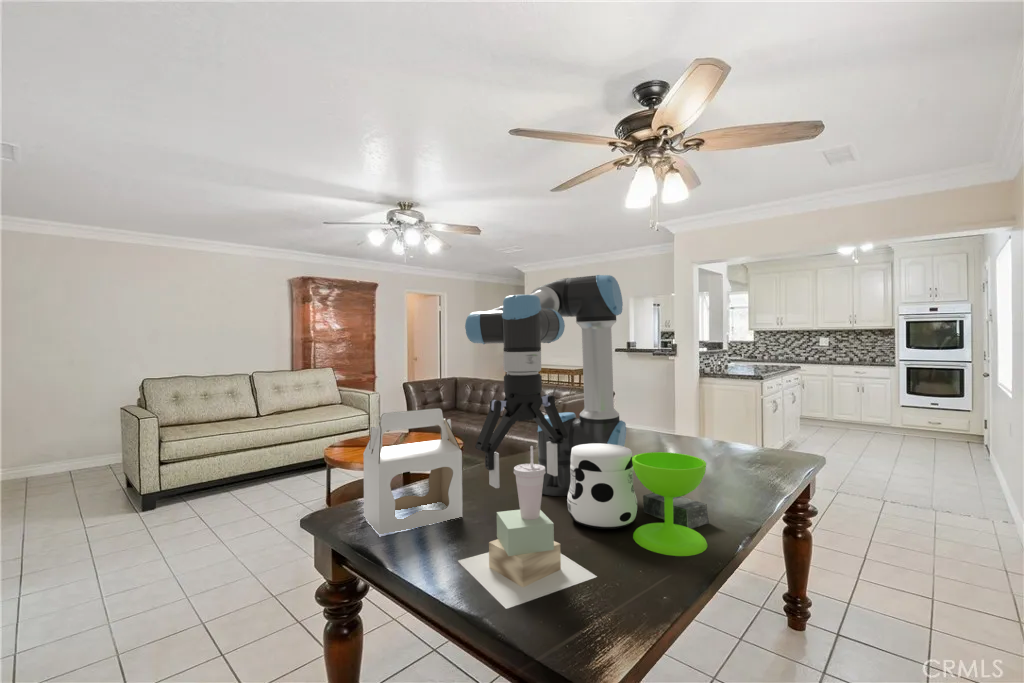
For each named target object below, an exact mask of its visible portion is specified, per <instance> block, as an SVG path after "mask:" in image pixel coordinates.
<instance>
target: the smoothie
mask: <svg viewBox="0 0 1024 683" xmlns="http://www.w3.org/2000/svg"><path fill="white" fill-rule="evenodd" d="M529 453H530V454H529V455H530V463H520V464H517V465H515V466H514V467H513V474H514V475H515V482H516V489H517V495H518V496H517V497H518V504H519V510H520V513H521V517H522V518H523V519H527V520H533V519H537V518H539V516H540V510H541V507H542V506H541V505H542V496H543V494H542V488H543V479H544V474H545V473H546V472H545V467H544V466H542V465H539V464H538V463H534V446H533V445H530V452H529Z"/></svg>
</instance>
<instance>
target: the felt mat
mask: <svg viewBox="0 0 1024 683" xmlns="http://www.w3.org/2000/svg"><path fill="white" fill-rule="evenodd" d="M457 562H458V563H459V564H460V565H461V566H462V567H463V568H464V569H465V570H466V571H467V572H468V573H469V574H470V575H471V576H472V577H473V578H474V579H475V580H476V581H477V582H478V583H479V584H480V585H481V586H482V587H483V588H484V589H485V590H486V591H487V592H488V593H489V594H490V595H491V596H492V597H493V598H494V599H495V600H496V601H497V602H498V603H499V604H500V605H501V606H503V608H504V609H506V610H508V609H510V608H513V607H517V606H520V605H522V604H525V603H527V602H530V601H533V600H536V599H538V598H541V597H544V596H548V595H550V594H553V593H556V592H558V591H562V590H564V589H565V590H566V589H567V588H570V587H572V586H576V585H578V584H581V583H582V584H583V583H584V582H587V581H590V580H593V579H596V578H598V576H597V575H595V574H594V573H593V572H592V571H590V570H588V569H587V568H584V567H583V566H582V565H580V564H578V563H577V562H576V561H574V560H572V559H570V558H569V557H567V556H566V555H564V554H562V553H561V569H560V570H558V571H556V572H554V573H552V574H550V575H548V576H546V577H544V578H542V579H540V580H537V581H535V582H533V583H531V584H529V585H527V586H525V587H521V586H520V585H518V584H516V583H514V582H513V581H511V580H509V579H508V578H506V577H504V576H503V575H501V574H499V573H498V572H496V571H494V570H493V569H491V568H489V551H488V552H485V553H481V554H477V555H474V556H470V557H466V558H463V559H459V560H457Z"/></svg>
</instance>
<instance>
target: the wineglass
mask: <svg viewBox="0 0 1024 683" xmlns="http://www.w3.org/2000/svg"><path fill="white" fill-rule="evenodd" d="M632 456H633V457H632V463H633V472H634V473H635V476H636V478H637V479H638V481H640V483H641V484H642V485H643V486H644V488H646V489H647V490H648V491H650V492H652V493H655V494H658V495H661V496H664V513H665V520H664V522H651V523H646V524H642V525H640V526H639V527H637V528H636V529H635V530H634V531H633V534H632V539H633V541H635V543H636V544H637V545H638V546H640V547H641V548H643V549H646V550H648V551H650V552H652V553H656V554H661V555H665V556H673V557H674V556H675V557H691V556H695V555H699V554H702V553H703V552H705V551H706V550H707V548H708V546H709V545H708V543H707V540H706V538H705V537H704V536H703V535H702V534H701V533H700V532H698V531H696V530H695V529H694V528H693V529H690V528H688V527H685V526H681V525H677V524H673V497H680V496H681V497H684V496H686V495H688V494H690V493H691V492H693V491H695V490H696V489H697V488H698V487H699V485H701V483H702V481H703V478H704V476H705V474H706V468H707V462H706V461H705V460H704V459H702V458H699V457H697V456H693V455H690V454H683V453H677V452H666V451H664V452H663V451H658V452H657V451H655V452H654V451H652V452H650V451H649V452H643V453H638V454H635V455H632Z"/></svg>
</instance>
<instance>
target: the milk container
mask: <svg viewBox="0 0 1024 683" xmlns="http://www.w3.org/2000/svg"><path fill="white" fill-rule="evenodd" d="M633 456H634V455H633V452H632V450H631V448H628V447H626V446H625V445H624V446H620V445H614V444H602V443H594V444H581V445H577V446H574V447H573V448H572V450H571V465H570V473H571V482H570V488H569V492H568V496H567V499H566V501H567V502H566V504H567V510H568V514H569V517H570V518H571V519H572V520H573V521H575V522H576V523H578V524H580V525H582V526H585V527H587V528H591V529H599V530H617V529H619V528H621V529H622V528H625V527H627V526H630V525H631V524H632V523H633V522H634V521H635V519H636V517H637V511H638V499H637V496H636V492H635V488H634V469H633V463H632V457H633Z"/></svg>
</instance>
